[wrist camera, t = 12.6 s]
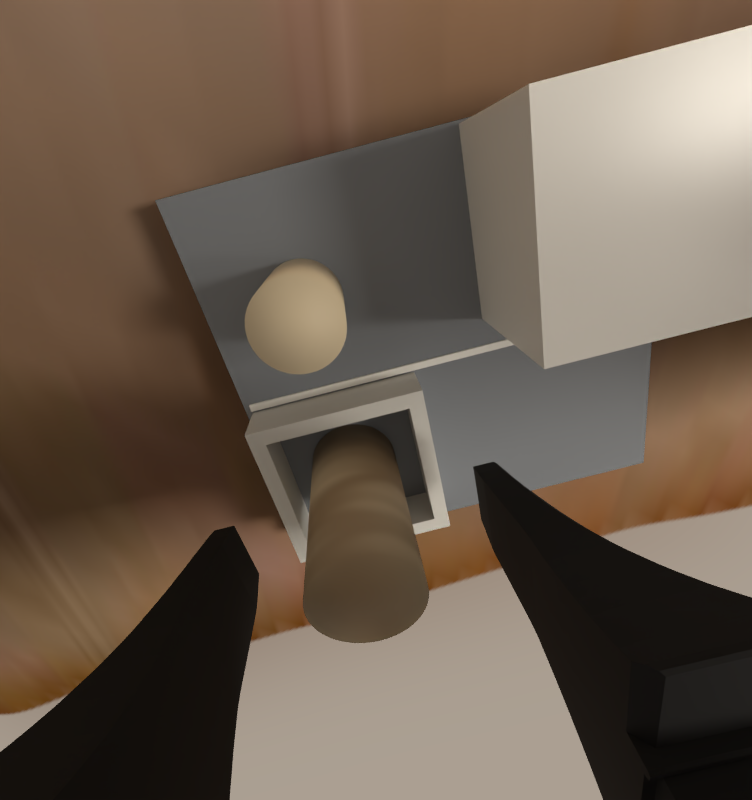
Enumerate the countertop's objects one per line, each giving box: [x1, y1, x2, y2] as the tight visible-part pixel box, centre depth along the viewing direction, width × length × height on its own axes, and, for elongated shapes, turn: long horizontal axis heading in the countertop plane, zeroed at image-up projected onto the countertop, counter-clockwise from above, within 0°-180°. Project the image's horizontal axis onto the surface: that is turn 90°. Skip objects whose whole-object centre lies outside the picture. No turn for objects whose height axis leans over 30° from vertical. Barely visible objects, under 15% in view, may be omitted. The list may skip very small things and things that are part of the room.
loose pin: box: [303, 424, 429, 643], centre depth 13 cm, size 3×3×6 cm
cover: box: [459, 25, 752, 369], centre depth 10 cm, size 5×5×4 cm
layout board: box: [155, 116, 652, 563], centre depth 13 cm, size 14×13×4 cm
